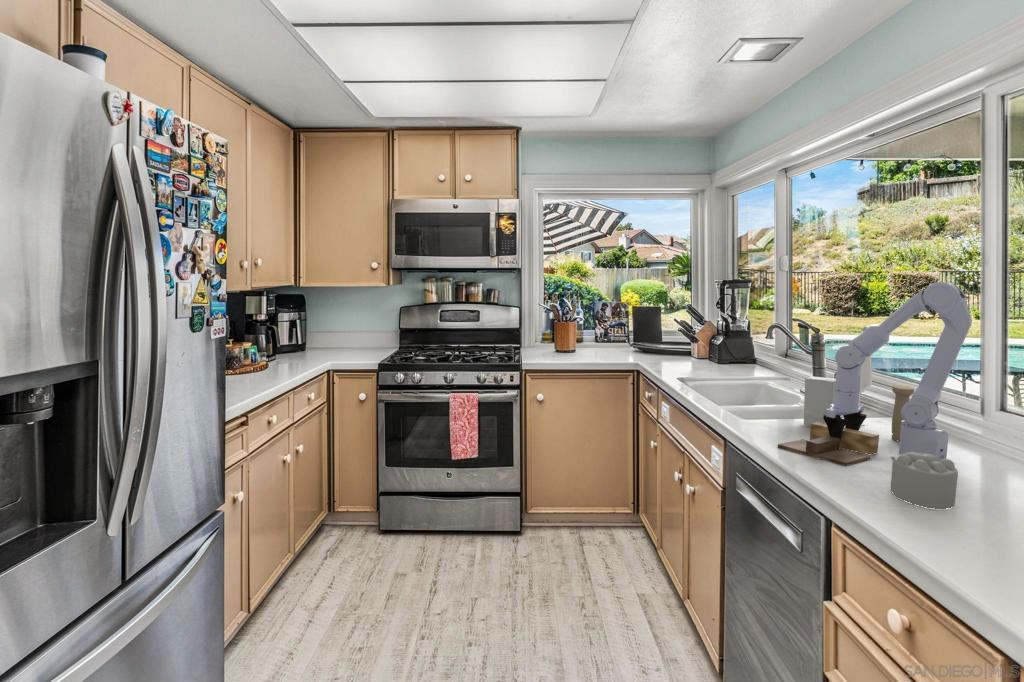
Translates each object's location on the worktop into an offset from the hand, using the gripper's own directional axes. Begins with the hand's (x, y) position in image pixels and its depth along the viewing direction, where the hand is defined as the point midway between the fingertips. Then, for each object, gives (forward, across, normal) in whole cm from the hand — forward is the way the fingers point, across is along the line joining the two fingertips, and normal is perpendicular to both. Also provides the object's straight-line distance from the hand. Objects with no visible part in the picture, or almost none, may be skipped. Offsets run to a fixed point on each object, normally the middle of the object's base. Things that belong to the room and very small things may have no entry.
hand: (842, 441), depth 163 cm
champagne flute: (+2, -30, -13) cm, 33 cm away
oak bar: (+2, 0, 0) cm, 2 cm away
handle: (+2, -21, +4) cm, 21 cm away
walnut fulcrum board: (+1, +11, +1) cm, 11 cm away
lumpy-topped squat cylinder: (+2, +24, +30) cm, 38 cm away
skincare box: (+2, -16, -16) cm, 23 cm away
